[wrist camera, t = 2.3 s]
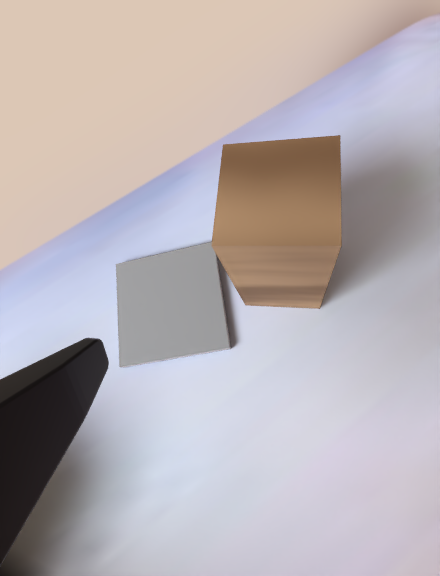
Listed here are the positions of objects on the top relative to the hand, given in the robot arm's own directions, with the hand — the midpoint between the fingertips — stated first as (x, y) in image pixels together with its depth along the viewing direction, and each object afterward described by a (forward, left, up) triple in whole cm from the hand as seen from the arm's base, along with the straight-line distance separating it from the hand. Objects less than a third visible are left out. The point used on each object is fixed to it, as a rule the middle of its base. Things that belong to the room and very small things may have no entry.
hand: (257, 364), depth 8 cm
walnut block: (+6, -5, -13) cm, 15 cm away
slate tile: (+9, +3, -13) cm, 16 cm away
